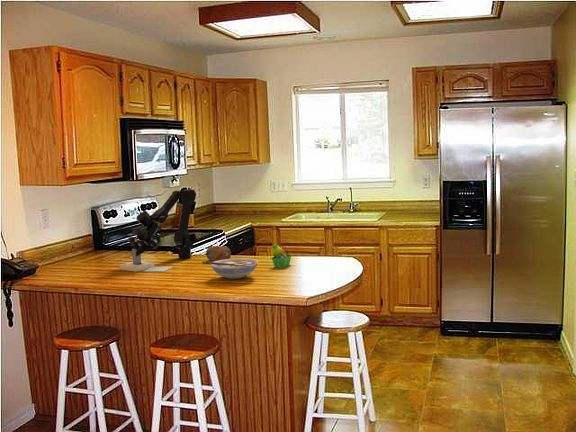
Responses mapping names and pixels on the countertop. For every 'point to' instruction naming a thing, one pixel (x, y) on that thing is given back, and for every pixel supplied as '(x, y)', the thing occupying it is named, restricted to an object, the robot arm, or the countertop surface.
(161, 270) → the key mat
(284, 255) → the fruit basket
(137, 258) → the t key
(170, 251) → the countertop surface
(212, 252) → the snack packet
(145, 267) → the cover plate
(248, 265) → the ramen bowl
